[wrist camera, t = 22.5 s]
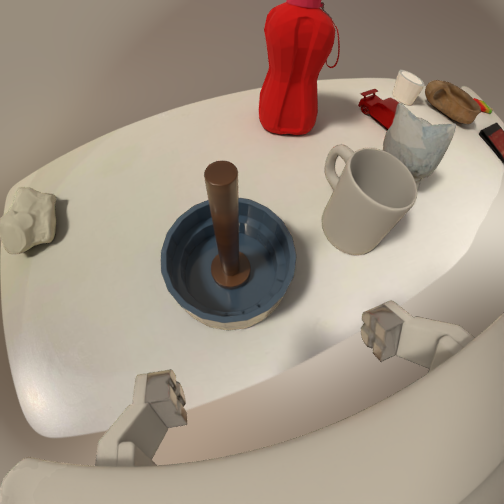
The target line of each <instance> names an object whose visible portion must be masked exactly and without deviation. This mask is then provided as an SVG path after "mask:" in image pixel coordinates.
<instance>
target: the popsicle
mask: <svg viewBox="0 0 504 504" xmlns="http://www.w3.org/2000/svg"><path fill="white" fill-rule="evenodd" d="M474 100H475V101H476V102H477V103H478V104H479V106H480V108H481V111H482V112H486V113H489V114H491V112H492V110H493V109H492V108H489V107H488V106H487V104H486V103H485V102H484V101H481V100H478V99H475V98H474Z"/></svg>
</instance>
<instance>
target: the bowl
mask: <svg viewBox="0 0 504 504" xmlns="http://www.w3.org/2000/svg"><path fill="white" fill-rule="evenodd" d="M425 95H426V98H427V100H428V101H429V102H430V103H431V104H432V105H433V106H434V107H436V108H437V109H438V110H440V111H441V112H442V113H444V114H445V115H447V116H448V117H450V118H451V119H453V120H455V121H457V122H460V123H464V124H471V123H472V122H473V121H474V120H475V118H476V116H477V115H478V114H479V113H480V112H481V108H480V106H479V104H478V103H477V102H476V101H475V100H474V99H473V98H472V97H471V96H470V95H469V94H467V93H466V92H465V91H463V90H462V89H460V88H458V87H457V86H455V85H453V84H451V83H449V82H445V81H439V80H435V81H432V82H430V83H428V85H427V86H426V89H425Z"/></svg>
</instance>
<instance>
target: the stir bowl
mask: <svg viewBox="0 0 504 504" xmlns="http://www.w3.org/2000/svg"><path fill="white" fill-rule="evenodd" d="M238 208H239V252H241V253H243V254H244V255H245V256H246V257H247V258H248V260H249V262H250V267H251V269H250V276H249V279H248V281H247V282H246V283H245V284H244V285H243V286H242V287H240V288H237V289H233V290H229V289H224V288H222V287H220V286H219V285H218V284H217V283H216V282H215V281H214V279H213V276H212V273H211V264H212V261H213V259H214V258H215V256H216V255H218V254H219V253H218V248H217V243H216V238H215V233H214V227H213V222H212V217H211V211H210V206H209V200H207V201H204V202H202V203H199V204H197V205H194V206H193V207H191V208H190V209H189V210H188V211H186V212H185V213H184V214H182V215H181V216H180V217H179V218H178V219H177V220H176V221H175V223H174V224H173V225H172V227H171V228H170V230H169V231H168V232H167V235H166V238H165V241H164V244H163V247H162V250H161V273H162V275H163V278H164V281H165V284H166V286H167V289H168V291H169V292H170V294H171V295H172V296H173V297H174V298H175V300H176V301H177V302H178V303H179V304H180V305H181V307H182V308H183V309H184V310H185V311H186V312H187V313H188V314H189V315H190V316H191V317H193V318H194V319H196V320H198V321H199V322H201V323H203V324H205V325H206V326H209V327H212V328H217V329H222V330H236V329H244V328H248V327H250V326H252V325H254V324H257V323H259V322H261V321H263V320H264V319H266V318H267V317H268V316H269V315H270V314H271V313H272V312H273V311H274V310H275V309H276V308H277V307H278V305H279V303H280V302H281V300H282V298H283V297H284V295H285V293H286V291H287V289H288V287H289V285H290V283H291V281H292V279H293V277H294V272H295V264H296V252H295V247H294V243H293V238H292V236H291V234H290V232H289V231H288V229H287V227H286V226H285V224H284V222H283V221H282V220H281V219H280V218H279V217H278V216H277V215H276V214H275V213H273V212H272V211H271V210H270V209H269V208H267V207H265V206H263V205H261V204H259V203H257V202H254V201H252V200H250V199H244V198H238Z"/></svg>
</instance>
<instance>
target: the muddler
mask: <svg viewBox="0 0 504 504" xmlns="http://www.w3.org/2000/svg"><path fill="white" fill-rule="evenodd" d="M204 177H205V183H206V189H207V195H208V200H209V206H210V211H211V217H212V222H213V227H214V233H215V238H216V243H217V248H218V253H219V254H218V255H216V256H215V258H214V259H213V261H212V264H211V273H212V276H213V279H214V281H215V282H216V283H217V284H218V285H219V286H220V287H222V288H224V289H229V290H233V289H237V288H240V287H242V286H243V285H244V284H245V283H246V282H247V281H248V279H249V276H250V269H251V267H250V262H249V260H248V258H247V257H246V256H245V255H244V254H243V253H241V252H239V208H238V170H237V168H236V166H235V165H234V164H232V163H230V162H228V161H216V162H213V163H212V164H210V165H209V166H208V167H207V168H206V170H205V172H204Z"/></svg>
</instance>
